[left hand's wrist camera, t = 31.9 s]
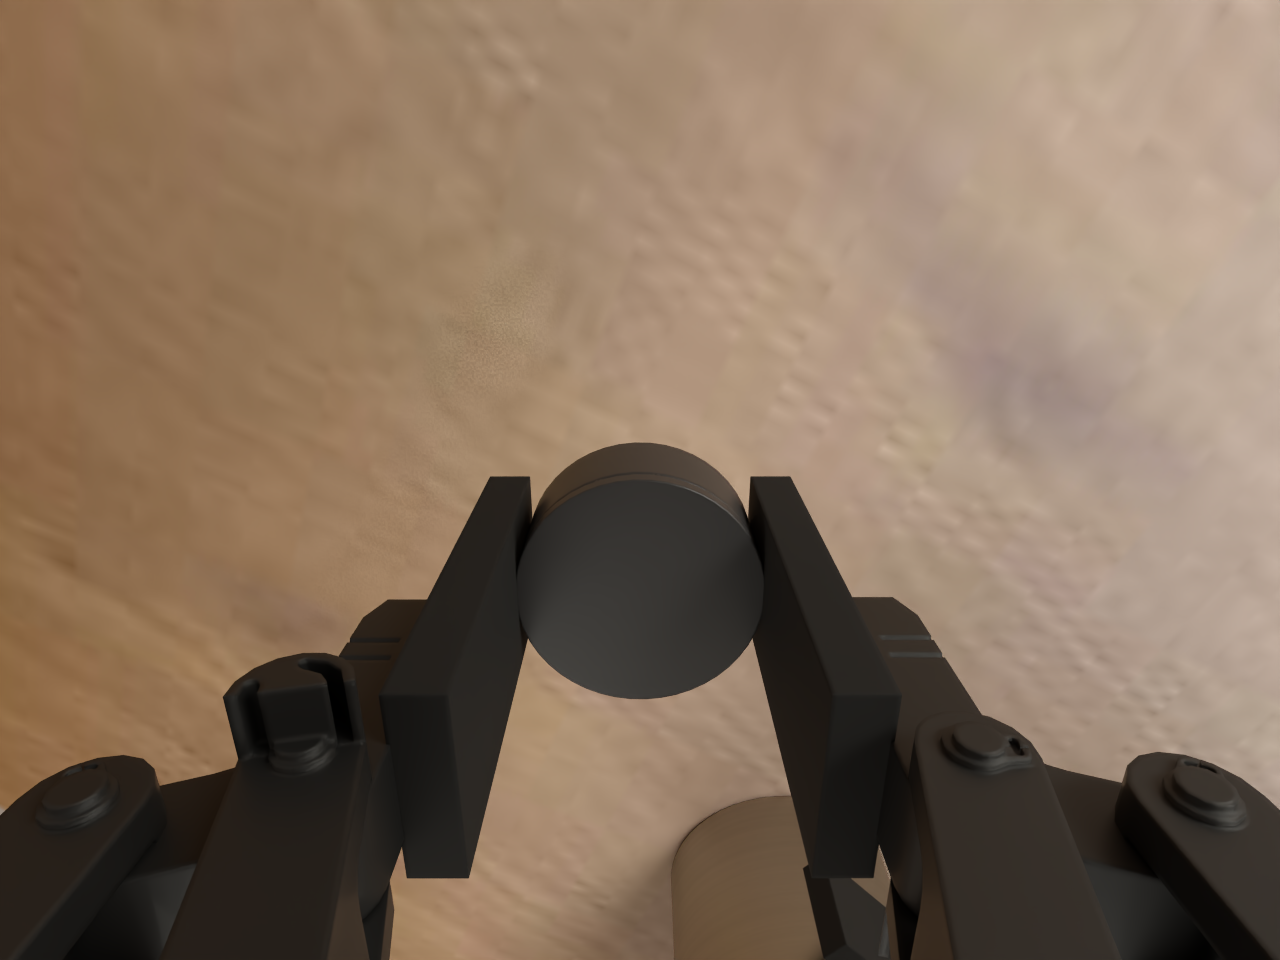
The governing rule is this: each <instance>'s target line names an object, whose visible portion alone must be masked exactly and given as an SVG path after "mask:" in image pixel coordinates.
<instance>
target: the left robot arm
mask: <svg viewBox="0 0 1280 960" xmlns="http://www.w3.org/2000/svg"><path fill="white" fill-rule="evenodd" d="M748 520H749V523H750V526H751V530H752V533H753V536H754V539H755V542H756V545H757V548H758V551H759V555H760V558H761V561H762V565H763V569H764V590H763V605H762V616H761V620H760V623H759V625H758V628H757V630H756V632H755V634H754V636H753V642H754V646H755V650H756V654H757V658H758V662H759V666H760V671H761V675H762V679H763V683H764V687H765V691H766V695H767V699H768V703H769V707H770V711H771V715H772V719H773V723H774V727H775V731H776V735H777V739H778V743H779V748H780V752H781V756H782V760H783V764H784V768H785V772H786V776H787V780H788V784H789V788H790V792H791V796H792V800H793V804H794V808H795V812H796V816H797V821H798V825H799V829H800V833H801V837H802V841H803V845H804V849H805V853H806V857H807V861H808V865H809V869H810V873H811V877H812V878H874V872H875V866H876V859H877V853H878V847H879V845H880V848H881V851H882V853H883V856H884V859H885V862H886V865H887V867H888V870H889V873H890V876H891V880H890V886H889V892H888V898H887V904H886V910H885V916H884V922H883V928H882V934H881V940H880V947H879V954H878V956H882V957H887V958H888V955H889V949H890V956H891V960H1280V810H1279V809H1278V808H1277V807H1276V806H1275V805H1274V804H1273V803H1272V802H1271V801H1270V800H1268V799H1267V798H1266V797H1265V796H1264V795H1263V794H1261V793H1260V792H1259V791H1257V790H1256V789H1255V788H1253V787H1252V786H1251V785H1249V784H1248V783H1247V782H1245V781H1244V780H1243V779H1242V778H1240V777H1238V776H1236V775H1234V774H1232V773H1230V772H1228V771H1226V770H1224V769H1222V768H1220V767H1218V766H1216V765H1214V764H1212V763H1208V762H1206V761H1203V760H1199V759H1196V758H1192V757H1189V756H1186V755H1181V754H1172V753H1163V752H1155V753H1150V754H1145V755H1139V756H1138V757H1136V758H1135V759H1134V760H1133V761H1132V762H1131V763H1130V764H1129V765H1127V768H1126V772H1125V775H1124V778H1123V782H1122V783H1120V782H1115V781H1111V780H1106V779H1102V778H1097V777H1093V776H1088V775H1084V774H1079V773H1075V772H1070V771H1066V770H1063V769H1059V768H1056V767H1052V766H1049V765H1046V764H1044V763H1043V760H1042V758H1041V757H1040V755H1039V754H1038V752H1037V751H1036V749H1035V748H1034V746H1033V745H1032V743H1031V742H1030V741H1029V740H1027V739H1026V738H1025V737H1024V736H1022V735H1021V734H1020V733H1019V732H1017V731H1016V730H1015V729H1013V728H1012V727H1010V726H1008V725H1006V724H1004V723H1001V722H999V721H997V720H995V719H993V718H991V717H988V716H984V715H981V713H980V711H979V710H978V708H977V707H976V705H975V704H974V702H973V701H972V699H971V697H970V696H969V694H968V693H967V691H966V690H965V688H964V687H963V685H962V683H961V682H960V680H959V679H958V677H957V676H956V674H955V673H954V671H953V669H952V668H951V666H950V665H949V663H948V662H947V660H946V659H945V658H942V652H941V651H940V649H939V648H938V646H937V645H936V643H935V641H934V640H931V635H930V634H929V632H928V631H927V629H926V627H925V626H924V624H923V623H922V621H921V620H920V618H919V617H918V615H917V614H915V613H914V612H912V611H911V610H910V609H908V608H907V607H906V606H904V605H903V604H901V603H900V602H899V601H897V600H896V599H894V598H893V597H852V596H851V594H850V592H849V590H848V588H847V586H846V584H845V582H844V580H843V578H842V576H841V575H840V573H839V571H838V569H837V567H836V565H835V563H834V561H833V559H832V557H831V555H830V553H829V551H828V549H827V547H826V545H825V543H824V541H823V539H822V537H821V536H820V534H819V532H818V530H817V528H816V526H815V524H814V522H813V520H812V518H811V516H810V514H809V512H808V510H807V508H806V506H805V504H804V502H803V500H802V498H801V496H800V495H799V493H798V491H797V489H796V487H795V485H794V483H793V481H792V479H791V477H751V478H750V495H749V512H748ZM531 522H532V504H531V487H530V477H490V478H489V480H488V482H487V484H486V486H485V488H484V490H483V492H482V494H481V496H480V497H479V499H478V501H477V503H476V505H475V507H474V509H473V511H472V513H471V515H470V517H469V519H468V521H467V523H466V525H465V527H464V529H463V531H462V533H461V535H460V537H459V538H458V540H457V542H456V544H455V546H454V548H453V550H452V552H451V554H450V556H449V558H448V560H447V562H446V564H445V566H444V568H443V570H442V572H441V574H440V576H439V578H438V579H437V581H436V583H435V585H434V587H433V589H432V591H431V593H430V595H429V597H428V599H427V600H387V601H385V602H384V603H383V604H381V605H380V606H379V607H377V608H376V609H374V610H373V611H372V612H370V613H369V614H368V615H366V616H365V617H363V619H362V620H361V622H360V624H359V625H358V627H357V628H356V630H355V631H354V633H353V634H352V636H351V638H350V643H347V644H346V645H345V647H344V649H343V650H342V652H341V653H340V655H339V657H338V656H334V655H331V654H327V653H301V654H296V655H292V656H287V657H282V658H278V659H275V660H273V661H271V662H268V663H266V664H263V665H261V666H259V667H256V668H254V669H252V670H251V671H250V672H248V673H247V674H245V675H244V676H242V677H241V678H239V679H238V680H237V681H235V682H234V683H233V685H232V686H231V687H230V688H229V690H228V691H227V692H226V693H225V695H224V696H223V700H224V704H225V708H226V712H227V716H228V720H229V724H230V728H231V732H232V736H233V740H234V744H235V748H236V752H237V756H238V762H237V764H236V767H235V768H232V769H229V770H225V771H222V772H218V773H215V774H211V775H206V776H202V777H197V778H193V779H189V780H184V781H180V782H175V783H171V784H166V785H162V786H159V783H158V780H157V776H156V773H155V770H154V768H153V767H152V766H151V765H150V764H148V763H147V762H146V761H145V760H144V759H141V758H136V757H131V756H126V755H120V756H111V757H102V758H96V759H93V760H90V761H86V762H83V763H79V764H77V765H74V766H71V767H68V768H66V769H64V770H62V771H60V772H58V773H56V774H54V775H52V776H50V777H48V778H47V779H45V780H43V781H41V782H39V783H38V784H37V785H35V786H34V787H33V788H31V789H30V790H29V791H28V792H26V793H25V794H24V795H22V796H21V797H20V798H18V799H17V800H16V801H15V802H14V803H13V804H12V805H11V806H10V807H9V808H8V809H6V810H5V811H4V812H3V813H2V814H1V815H0V960H389V958H390V947H391V937H392V927H393V917H394V906H393V899H392V892H391V886H390V878H391V875H392V873H393V870H394V867H395V864H396V861H397V859H398V856H399V853H400V850H401V848H402V850H403V856H404V863H405V869H406V875H407V878H469V875H470V871H471V867H472V863H473V859H474V855H475V851H476V847H477V843H478V839H479V835H480V831H481V827H482V822H483V818H484V814H485V810H486V806H487V802H488V798H489V794H490V790H491V786H492V782H493V778H494V774H495V770H496V766H497V762H498V758H499V754H500V749H501V745H502V741H503V737H504V733H505V729H506V725H507V721H508V717H509V713H510V709H511V705H512V701H513V697H514V693H515V689H516V685H517V681H518V676H519V672H520V668H521V664H522V660H523V656H524V652H525V648H526V644H527V640H528V637H527V635H526V633H525V631H524V629H523V627H522V624H521V621H520V618H519V611H518V597H517V582H516V571H517V567H518V563H519V559H520V556H521V553H522V550H523V546H524V543H525V540H526V537H527V534H528V531H529V528H530V525H531Z"/></svg>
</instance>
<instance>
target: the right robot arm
mask: <svg viewBox="0 0 1280 960" xmlns="http://www.w3.org/2000/svg"><path fill="white" fill-rule="evenodd" d="M803 872H804V876H805V880H806V885H807V889H808V893H809V898H810V902H811V906H812V911H813V915H814V919H815V924H816V928H817V932H818V937H819V941H820V945H821V950H822V954H823V958H824V959H825V960H891V956H890V949H889V955H888V958H887V957H882V956H878V954H879V947H880V940H881V934H882V928H883V922H884V916H885V910H886V907H885V906H884V905H882V904H881V903H880V902H879V901H878V900H876V899H875V898H874V897H873V896H872V895H870V894H869V893H868V892H867V891H866V890H864V889H863V888H862V887H861V886H860V885H858V884H857V883H856V882H855V881H854V880H852V879H851V878H812V877H811V873H810V869H809V865H807V866H805V867H804V868H803Z"/></svg>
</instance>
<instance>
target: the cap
mask: <svg viewBox="0 0 1280 960" xmlns="http://www.w3.org/2000/svg"><path fill="white" fill-rule="evenodd" d="M516 582H517V597H518V611H519V618H520V621H521V624H522V627H523V629H524V631H525V633H526V635H527V637H528V639H529V641H530V642H531V644H532V645H533V646H534V648H535V649H536V651H537V652H538V653H539V655H540V656H541V657H542V658H543V659H544V660H545V661H546V662H547V663H548V664H549V665H550V666H551V667H552V668H554V669H555V670H556V671H557V672H558V673H560V674H561V675H563V676H564V677H566V678H567V679H569V680H570V681H572V682H574V683H576V684H578V685H580V686H582V687H584V688H586V689H589V690H592V691H595V692H598V693H600V694H605V695H609V696H613V697H619V698H627V699H652V698H662V697H667V696H672V695H677V694H680V693H683V692H686V691H689V690H692V689H694V688H696V687H698V686H701V685H703V684H705V683H706V682H708V681H710V680H711V679H713V678H715V677H716V676H718V675H719V674H721V673H722V672H723V671H724V670H726V669H727V668H728V667H729V666H730V665H731V664H732V663H733V662H734V661H735V660H736V659H737V658H738V657H739V656H740V655H741V654H742V653H743V651H744V650H745V649H746V647H747V646H748V645H749V643H750V641H751V639H752V638H753V636H754V634H755V632H756V630H757V628H758V625H759V623H760V620H761V616H762V605H763V590H764V569H763V565H762V561H761V558H760V555H759V551H758V548H757V545H756V542H755V539H754V536H753V533H752V530H751V526H750V523H749V520H748V517H747V514H746V512H745V509H744V506H743V504H742V502H741V500H740V498H739V497H738V495H737V493H736V491H735V490H734V489H733V487H732V486H731V485H730V483H729V482H728V481H727V480H726V479H725V478H724V477H723V476H722V475H721V474H720V473H719V472H718V471H717V470H716V469H715V468H713V467H712V466H711V465H709V464H708V463H707V462H705V461H703V460H702V459H700V458H698V457H696V456H695V455H693V454H690V453H688V452H686V451H683V450H681V449H678V448H674V447H670V446H667V445H661V444H654V443H627V444H618V445H614V446H610V447H606V448H603V449H600V450H597V451H595V452H592V453H590V454H588V455H586V456H584V457H582V458H580V459H578V460H577V461H575V462H574V463H573V464H571V465H570V466H568V467H567V468H566V469H565V470H563V471H562V472H561V473H560V474H559V475H558V476H557V477H556V478H555V479H554V480H553V482H552V483H551V484H550V485H549V487H548V488H547V489H546V491H545V492H544V494H543V496H542V497H541V499H540V501H539V503H538V505H537V508H536V510H535V513H534V516H533V519H532V522H531V525H530V528H529V531H528V534H527V537H526V540H525V543H524V546H523V550H522V553H521V556H520V559H519V563H518V567H517V571H516Z"/></svg>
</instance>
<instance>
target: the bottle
mask: <svg viewBox="0 0 1280 960" xmlns="http://www.w3.org/2000/svg"><path fill="white" fill-rule="evenodd" d="M807 865H808V861H807V857H806V853H805V849H804V845H803V841H802V837H801V833H800V829H799V825H798V821H797V816H796V812H795V808H794V804H793V800H792V796H774V797H764V798H758V799H753V800H748V801H744V802H741V803H738V804H735V805H732V806H730V807H728V808H725V809H723V810H721V811H719V812H717V813H715V814H714V815H712V816H710V817H709V818H707V819H706V820H705V821H703V822H702V823H700V824H699V825H698V826H697V827H696V828H695V829H694V830H693V831H692V832H691V833H690V834H689V835H688V836H687V838H686V839H685V840H684V841H683V843H682V845H681V846H680V848H679V850H678V852H677V854H676V857H675V859H674V862H673V866H672V872H671V891H672V916H673V940H674V960H825V959H824V958H823V954H822V950H821V945H820V941H819V937H818V932H817V928H816V924H815V919H814V915H813V911H812V906H811V902H810V898H809V893H808V889H807V885H806V880H805V876H804V872H803V868H804V867H805V866H807ZM851 879H852V880H854V881H855V882H856V883H857V884H858V885H860V886H861V887H862V888H863V889H864V890H866V891H867V892H868V893H869V894H870V895H872V896H873V897H874V898H875V899H876V900H878V901H879V902H880V903H881V904H882V905H884V906H885V907H886V904H887V898H888V892H889V886H890V879H889V876H888V873H887V871H886V868H885V865H884V862H883V859H882V856H881V854H880V851H879V848H878V853H877V859H876V866H875V872H874V878H851Z"/></svg>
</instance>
